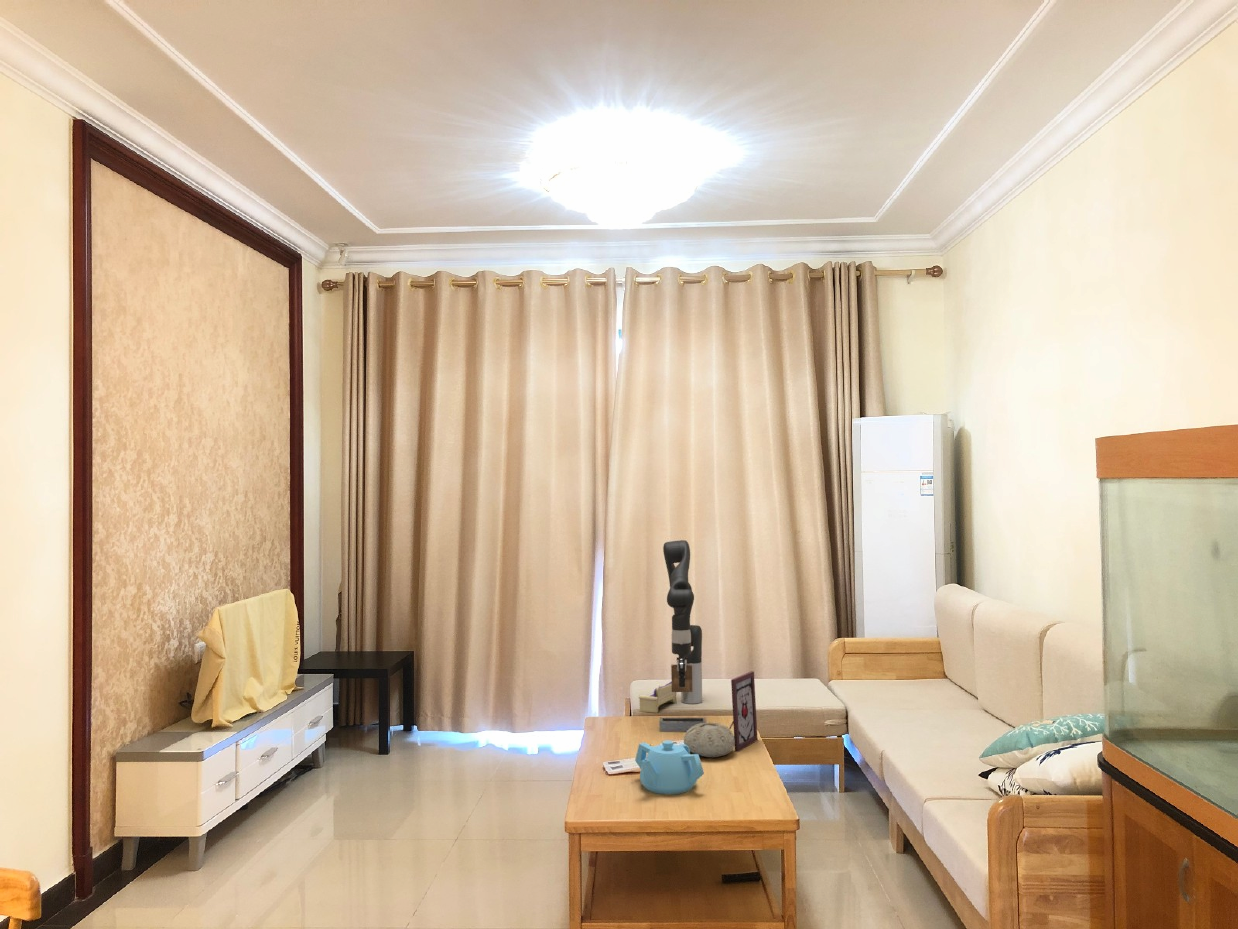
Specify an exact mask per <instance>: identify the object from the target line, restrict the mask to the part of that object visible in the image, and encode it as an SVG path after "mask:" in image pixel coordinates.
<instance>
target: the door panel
mask: <svg viewBox="0 0 1238 929" xmlns="http://www.w3.org/2000/svg"><path fill="white" fill-rule="evenodd" d="M670 667H671V668H670V671H671V672H670V673H671V674H670V675H671V676H670V678H671V681H672V692H676V693H681V692H692V665H686V671H685V687H679V676H678V674H679V671H678V670H677V664H671V665H670ZM680 673H684V672H680Z"/></svg>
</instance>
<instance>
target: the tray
mask: <svg viewBox="0 0 1238 929" xmlns="http://www.w3.org/2000/svg"><path fill="white" fill-rule="evenodd" d="M658 723H659V727H658V728H659V729H658V730H659V732H674V733H675V732H678V733H679V732H685V733H686V732H687V730H689V729H690V728H691V727H692V726H694V725H697V724H699V723H707V718H706V717H661V716H660V717H659V722H658Z"/></svg>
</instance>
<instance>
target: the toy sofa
mask: <svg viewBox="0 0 1238 929" xmlns="http://www.w3.org/2000/svg"><path fill="white" fill-rule="evenodd" d="M638 699H639V712H645V713H653V714H658V713H659V707H660V706H661V705H664V704H665V703H668V702H673V703H672V704H677V692H672V680H671V681H670V682H668V683H666V684H665V685H659V686H658V687H657V688H655V689H654V690H653V694H651V695H643V694H640V695H639V696H638Z"/></svg>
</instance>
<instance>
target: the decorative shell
mask: <svg viewBox="0 0 1238 929" xmlns="http://www.w3.org/2000/svg"><path fill="white" fill-rule="evenodd" d="M729 728H730V727H728V726H726V725H724V724H720V723H719V722H713V721H712V722H711V721H709V722H706V723H699V724H697V725H694V726H692V727H691V728H690V729H689V730H687V732H685V734H684V736H683V744H685V745H687V746H688V747H689V749H690V753H692V754H698V755H699V756H702V757H706V758H718V757H722V756H725V755H728V754H729V753H731V752H732V750H733V749H734V748H735V740H734V732H733V731H732V730H731V729H729Z"/></svg>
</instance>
